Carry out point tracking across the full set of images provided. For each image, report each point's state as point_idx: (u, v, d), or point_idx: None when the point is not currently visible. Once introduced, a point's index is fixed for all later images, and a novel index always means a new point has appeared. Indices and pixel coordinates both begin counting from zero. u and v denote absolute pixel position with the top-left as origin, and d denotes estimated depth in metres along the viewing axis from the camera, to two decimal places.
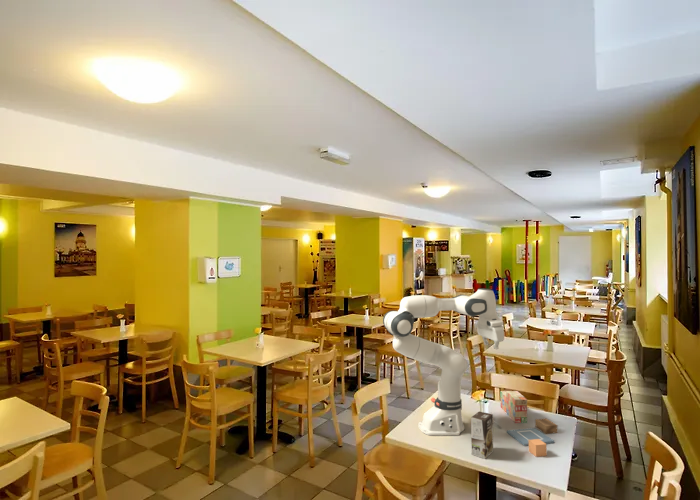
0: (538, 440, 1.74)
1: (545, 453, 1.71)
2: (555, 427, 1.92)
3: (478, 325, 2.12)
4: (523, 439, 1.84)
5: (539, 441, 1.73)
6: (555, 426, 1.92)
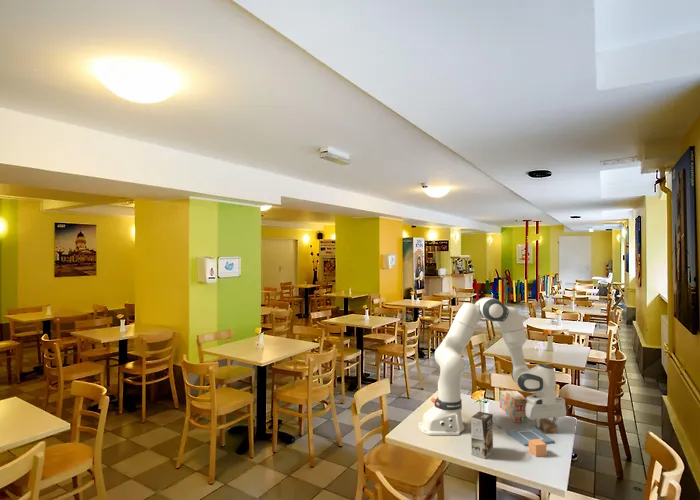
0: (538, 440, 1.74)
1: (545, 453, 1.71)
2: (555, 427, 1.92)
3: None
4: (523, 439, 1.84)
5: (539, 441, 1.73)
6: (555, 426, 1.92)
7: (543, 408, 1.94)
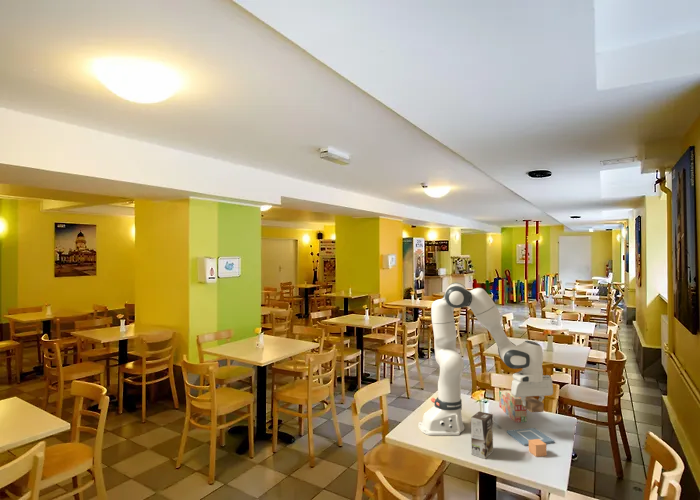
0: (538, 440, 1.74)
1: (545, 453, 1.71)
2: (541, 405, 1.87)
3: None
4: (523, 439, 1.84)
5: (539, 441, 1.73)
6: (541, 404, 1.87)
7: (529, 386, 1.88)
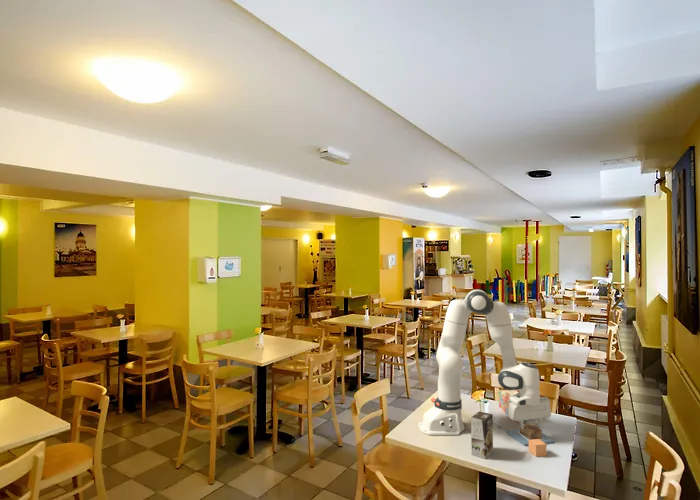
0: (538, 440, 1.74)
1: (545, 453, 1.71)
2: (539, 432, 1.84)
3: None
4: (523, 439, 1.84)
5: (539, 441, 1.73)
6: (539, 431, 1.84)
7: (527, 409, 1.86)
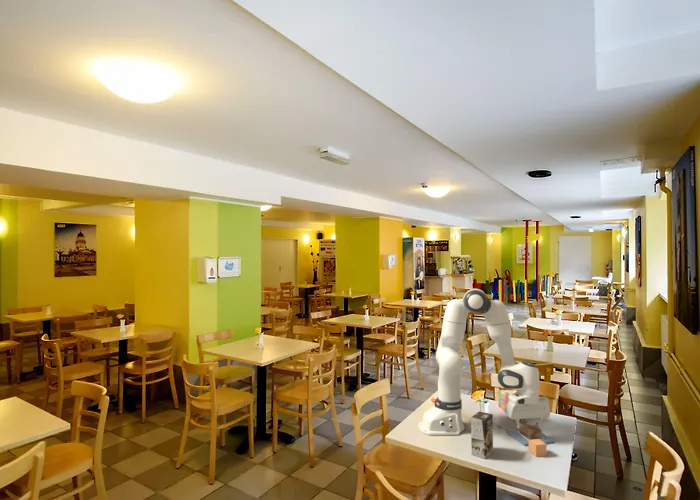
0: (538, 440, 1.74)
1: (545, 453, 1.71)
2: (539, 432, 1.84)
3: None
4: (523, 439, 1.84)
5: (539, 441, 1.73)
6: (539, 431, 1.84)
7: (525, 408, 1.86)
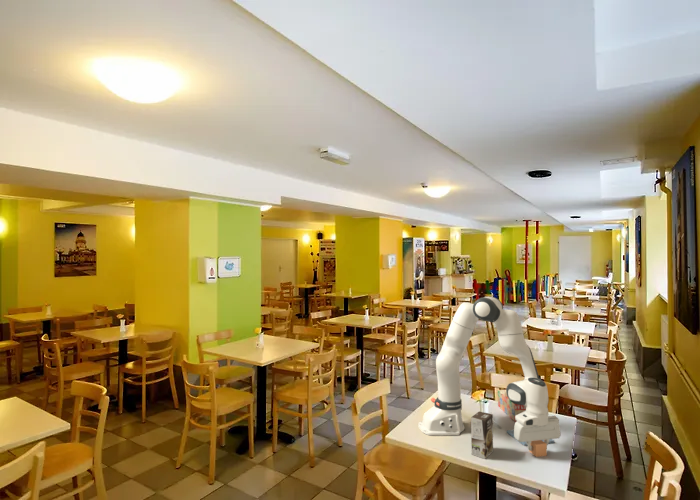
0: (538, 440, 1.74)
1: (545, 453, 1.71)
2: None
3: None
4: None
5: (539, 441, 1.73)
6: None
7: (534, 429, 1.71)
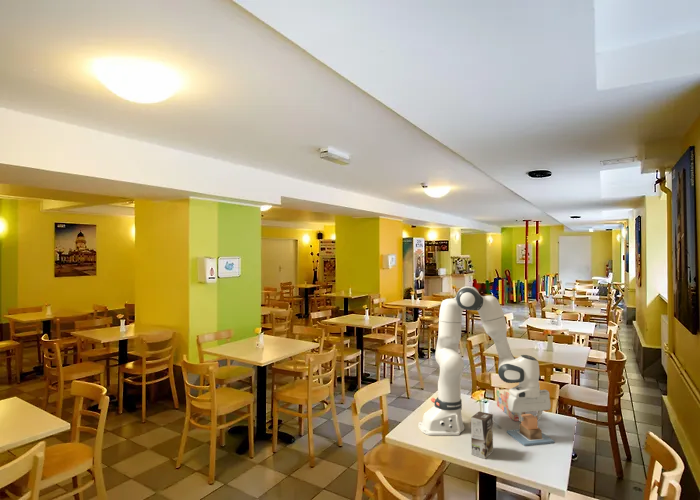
0: (530, 414, 1.89)
1: (536, 426, 1.86)
2: (539, 432, 1.84)
3: None
4: (523, 439, 1.84)
5: (531, 415, 1.88)
6: (539, 431, 1.84)
7: (526, 401, 1.86)
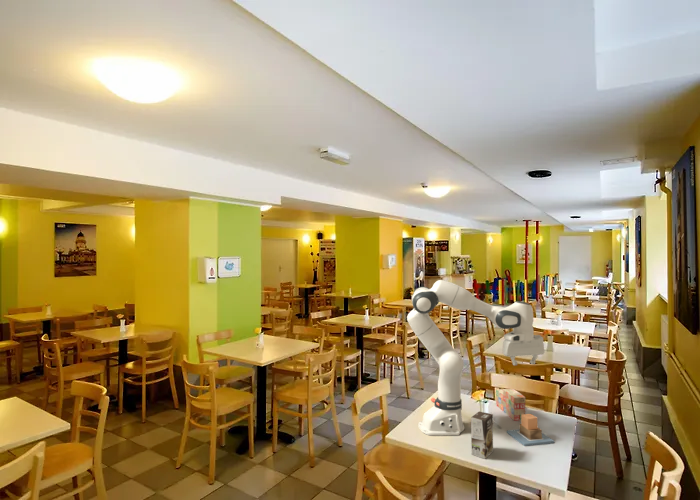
0: (530, 414, 1.89)
1: (536, 426, 1.86)
2: (539, 432, 1.84)
3: None
4: (523, 439, 1.84)
5: (531, 415, 1.88)
6: (539, 431, 1.84)
7: (520, 345, 1.90)
